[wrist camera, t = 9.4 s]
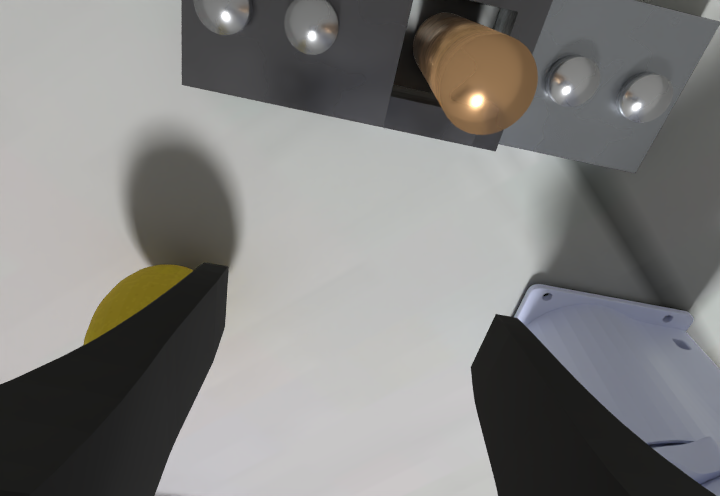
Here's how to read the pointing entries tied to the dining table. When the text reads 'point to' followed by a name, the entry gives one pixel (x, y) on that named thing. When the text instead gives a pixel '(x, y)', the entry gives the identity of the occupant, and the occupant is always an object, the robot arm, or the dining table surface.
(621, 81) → the chain joint
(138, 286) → the lemon
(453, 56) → the copper pin
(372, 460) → the dining table surface
